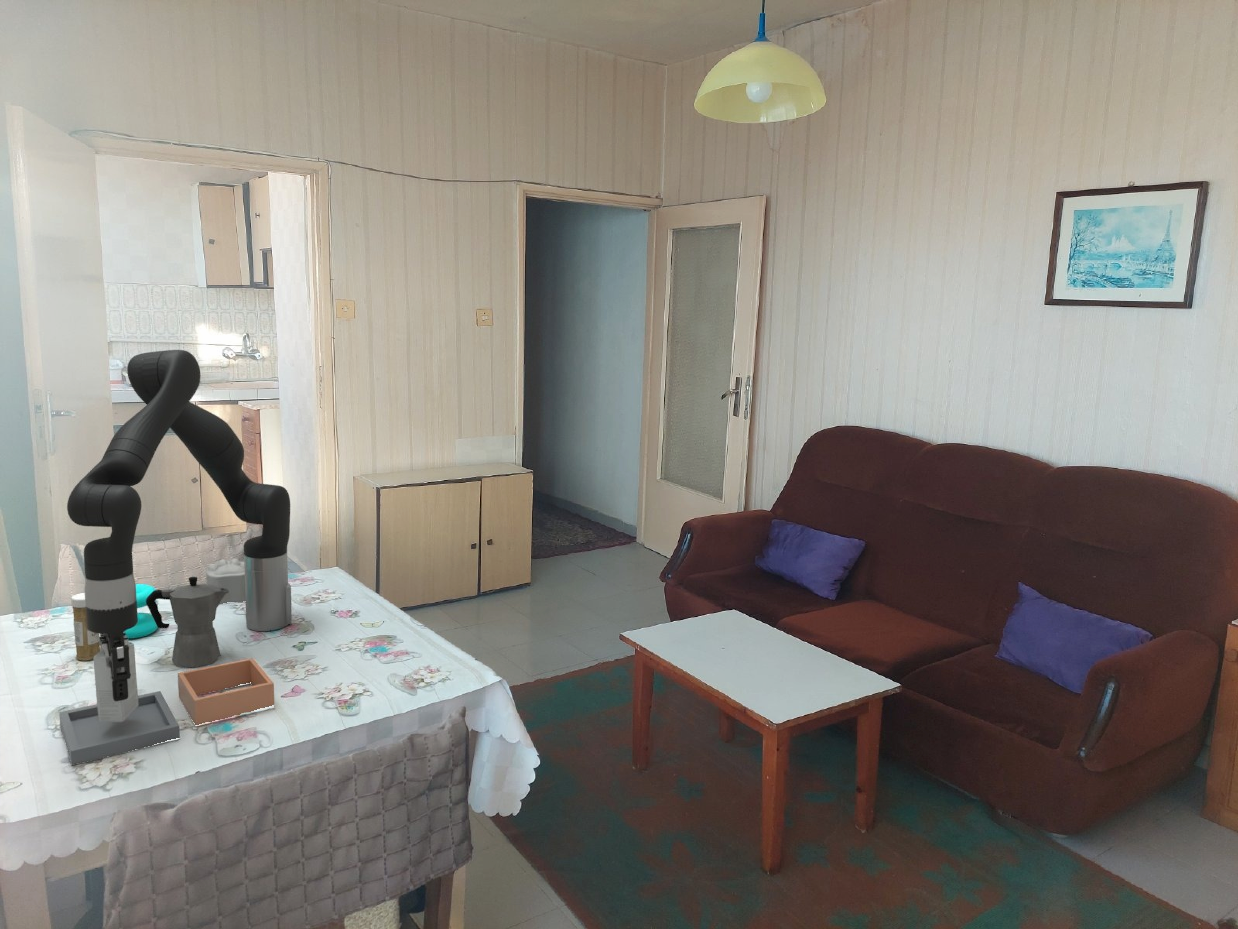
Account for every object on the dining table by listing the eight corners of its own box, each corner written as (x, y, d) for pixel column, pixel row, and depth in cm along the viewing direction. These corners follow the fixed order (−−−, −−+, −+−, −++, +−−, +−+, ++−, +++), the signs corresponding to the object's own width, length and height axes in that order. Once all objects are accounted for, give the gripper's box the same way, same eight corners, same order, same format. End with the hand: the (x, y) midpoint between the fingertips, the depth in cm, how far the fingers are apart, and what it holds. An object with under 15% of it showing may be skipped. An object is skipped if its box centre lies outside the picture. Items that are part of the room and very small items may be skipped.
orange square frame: (253, 681, 175) (252, 657, 174) (274, 708, 165) (273, 683, 164) (178, 697, 167) (177, 673, 166) (195, 727, 156) (194, 700, 155)
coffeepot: (232, 647, 191) (229, 568, 187) (229, 665, 182) (226, 582, 179) (152, 654, 185) (148, 572, 182) (145, 672, 177) (141, 587, 173)
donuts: (132, 579, 201) (167, 586, 198) (135, 621, 203) (169, 628, 200) (94, 593, 192) (129, 599, 188) (97, 636, 193) (132, 644, 190)
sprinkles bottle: (102, 659, 182) (97, 597, 180) (76, 663, 180) (71, 600, 177) (100, 651, 186) (96, 590, 183) (75, 655, 183) (70, 593, 181)
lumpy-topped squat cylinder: (207, 605, 215) (206, 571, 213) (207, 589, 226) (205, 556, 225) (253, 601, 219) (252, 568, 218) (250, 585, 231) (249, 553, 229)
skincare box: (114, 706, 156) (109, 642, 153) (139, 706, 156) (135, 642, 154) (96, 722, 150) (92, 656, 147) (123, 723, 150) (118, 657, 148)
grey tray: (160, 703, 164) (160, 691, 164) (180, 739, 152) (179, 726, 152) (60, 725, 155) (59, 712, 154) (71, 765, 142) (70, 751, 142)
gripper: (144, 609, 146) (149, 702, 149) (128, 584, 157) (133, 671, 160) (91, 617, 141) (98, 713, 144) (79, 591, 152) (86, 680, 155)
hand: (117, 691), depth 152 cm, fingers closed on skincare box, 7 cm apart
